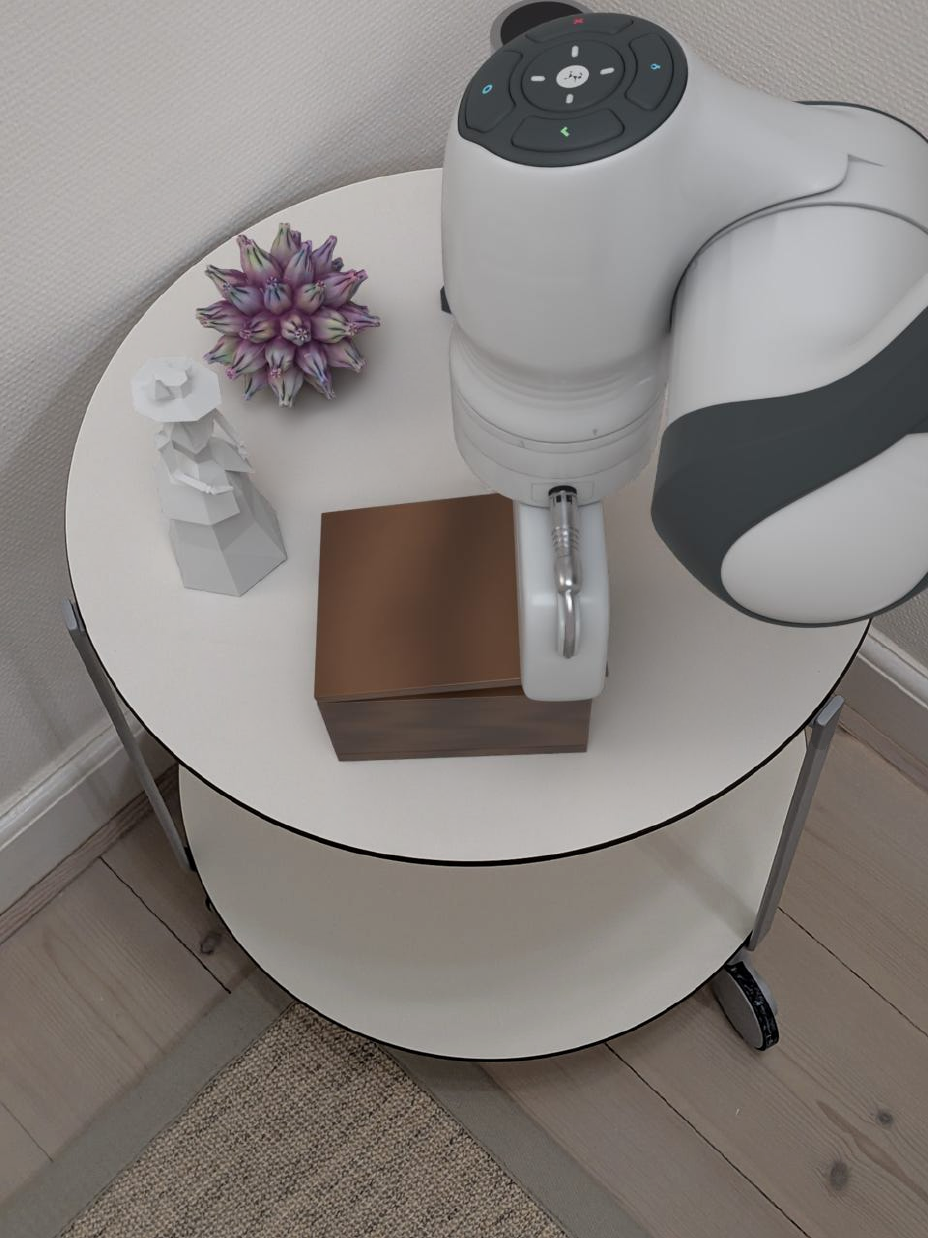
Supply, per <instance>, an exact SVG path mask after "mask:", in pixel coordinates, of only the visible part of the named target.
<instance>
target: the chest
mask: <svg viewBox="0 0 928 1238" xmlns="http://www.w3.org/2000/svg"><path fill="white" fill-rule="evenodd" d="M592 703H593V698H591V699H585V700H575V701H538V700H533V699H530V698H528V697H527V696H526V695H525V693H524V690H523V687H522V685H515V686H504V687H493V688H482V689H471V690H460V691H449V692H438V693H427V694H416V695H405V696H394V697H383V698H372V699H361V700H350V701H339V702H328V703H317V702H316V705H317V708H318V711H319V713H320V716H321V718H322V721H323V723H324V726H325V729H326V732H327V734H328V737H329V739H330V742H331V745H332V748H333V751H334V753H335V755H336V758H337V760H338V762H362V761H363V762H364V761H365V762H366V761H386V760H391V761H392V760H414V759H415V760H416V759H442V758H443V759H445V758H465V757H466V758H467V757H469V758H470V757H471V758H472V757H496V756H520V755H521V756H522V755H525V756H526V755H547V754H548V755H549V754H552V755H553V754H577V753H578V754H579V753H587V751H588V743H589V734H590V723H591V713H592Z"/></svg>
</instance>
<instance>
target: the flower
mask: <svg viewBox="0 0 928 1238" xmlns="http://www.w3.org/2000/svg"><path fill="white" fill-rule="evenodd" d="M235 242H236V244H237V246H238V248H239V258H240V259H239V263H240V267H241V269H242V271H241V270H239V269H234V268H229V269H228V268H219V267H217V266H214V265H212V264H207V265H206V269H205V270H203V274H204V275H205V276H206V277H207V278H208V279H210V280H211V281H212V282H213V284H214V286H215V288H216V289H217V291H218V293H219V294H220V296H221V297H222V298H223V299H224V300H218V301H216V302H214V303H212V304H210V305H208V306H206V307H198V308H196V309H195V311H194V312H195V313H196V314H195V319H196V320H197V321H199V323H200V325H202V328H204V329H214V330H215V331H217V332H219V333H220V334H222V336H221V337H220V338H218V340H217V343H216V344H215V346H214V347H213V349H211V350H210V351H209V352H207V353H206V354H204V355H203V357H202V359H203V360H204V361H206V362H207V365H213V364H214V363H220V364H221V365H224V367H228V368H227V369H226V371H225V375H227V377H228V379H230V380H231V381H235V380H236V379H238V378H239V377H241V376H243V379H244V380H243V381H244V391H243V392H242V398H245V401H246V402H248V401H249V402H251V401H252V399H253V398H254V396H255V395H256V394H257V393H258V392H260V391H261V390H263V389H264V388H265V387H267V386H268V385H270V387H271V390H272V391H273V392H274V394H275V395H276V397H277V401H278V407H279V408H283V409H286V408H289V409H290V408H293V407H295V405H296V399H297V395H298V393H299V391H300V389H301V388H302V385H303V384H304V381H305V382H307V383H309V384H310V385H311V386H313V387H314V389H315V390H316V392H317V393H319V394H320V393H321V394H323V395H324V396H325V397H326V399H327V400H329V401H331V399H333V400H337V395H336V394H335V391H334V389H333V376H332V370H331V368H330V366H331V367H334V368H347V369H350V370H352V371H354V372H355V373H357V374H359V373H361V372H362V371H363V369H364V368H365V364H366V361H367V358H366V357H365V356H364V355H362V354H361V353H360V351H359V350H358V348H357V346H356V344H355V342H354V341H353V339H352V337H353V336H355V335H357V334H359V333H362V332H363V331H365V330H367V329H369V328H379V327H380V326H381V322H379V321H380V317H379V316H377V315H370V314H369V313H370V309H369V308H368V305H359V304H357V303H355V302H354V301H351V299H352V298H354V296H355V295H356V293H357V292H358V290H359V288H360V286H361V285H362V283H364V282H365V281H366V280H368V279H369V275H368V274H367V273H366V272H367V270H365V269H364V268H363V269H360V270H358V271H357V270H356V269H354V268H351V269H348V270H347V271H342V269H343V268H344V267H345V264H344V261H343V258H342V257H341V256H338V257H337V258H335V259H333V257H334V250H335V247H336V246H337V244H338V237H337V236H336V235H332V234H331V235H328V237H327V239H326V240H325V242H324V243H323V244H322V245H320V246H319V247H318V248H315V249H314V250H313V240H311V239H308V240H305V241H304V240H303V241H302V233H301V232H300V231H299V230H293V229H291V224H290V222H286V223H285V222H284V223H283V222H279V223H278V232H277V235H276V237H275V238H274V240H273V242H272V245H271V248H270V250H269V252H268V251H266V250H264V249H262V248H261V247H259V246H258V244H257V243H256V241H255V240H254V239H253V238H250V239H249V238H248V237H247V235H245V234H238V235H237V238H235ZM350 336H352V337H350ZM329 365H330V366H329Z"/></svg>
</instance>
